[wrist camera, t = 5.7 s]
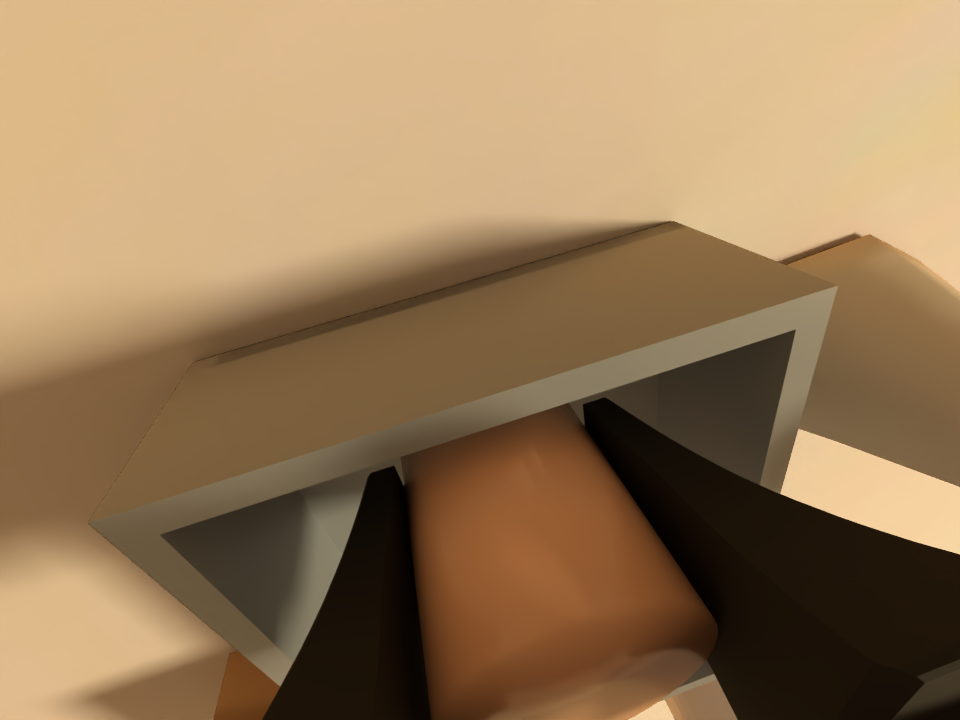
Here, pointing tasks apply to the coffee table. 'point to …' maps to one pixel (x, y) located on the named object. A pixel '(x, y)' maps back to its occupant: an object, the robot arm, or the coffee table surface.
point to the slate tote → (453, 410)
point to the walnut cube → (244, 691)
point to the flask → (888, 358)
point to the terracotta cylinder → (543, 580)
